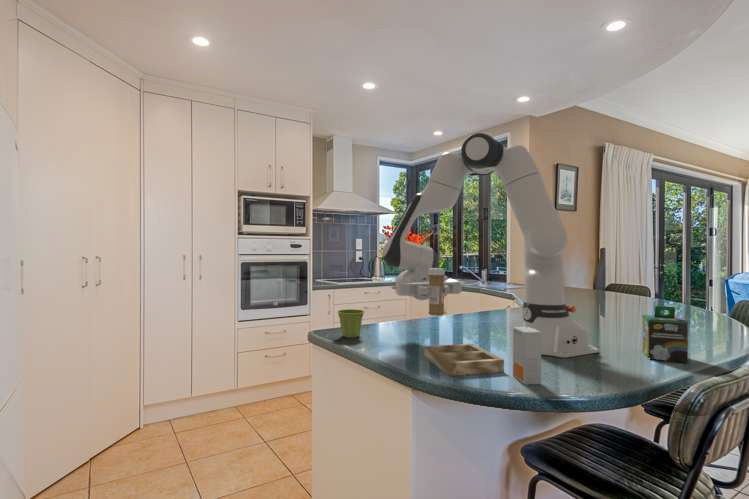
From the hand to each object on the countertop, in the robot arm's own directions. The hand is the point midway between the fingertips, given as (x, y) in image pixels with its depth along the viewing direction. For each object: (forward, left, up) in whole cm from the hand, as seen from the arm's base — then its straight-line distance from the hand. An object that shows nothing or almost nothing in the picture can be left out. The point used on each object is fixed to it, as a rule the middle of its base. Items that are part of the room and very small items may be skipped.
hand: (437, 290), depth 112 cm
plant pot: (+20, -28, -19) cm, 39 cm away
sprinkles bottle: (0, -1, -7) cm, 7 cm away
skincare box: (-12, +25, -19) cm, 33 cm away
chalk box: (-62, +17, -19) cm, 67 cm away
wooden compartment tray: (-3, +10, -19) cm, 21 cm away
